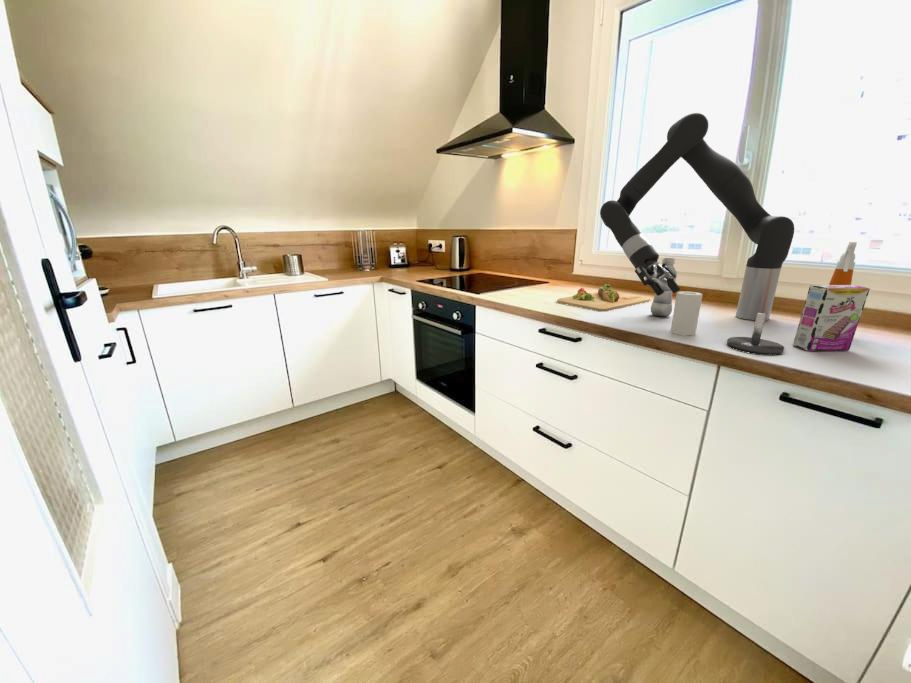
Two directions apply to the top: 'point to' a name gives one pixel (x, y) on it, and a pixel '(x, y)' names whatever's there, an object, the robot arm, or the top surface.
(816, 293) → the candy bar box
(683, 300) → the paper towel roll
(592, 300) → the cutting board
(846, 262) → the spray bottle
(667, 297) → the plastic bottle
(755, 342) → the roll holder
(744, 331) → the top surface
